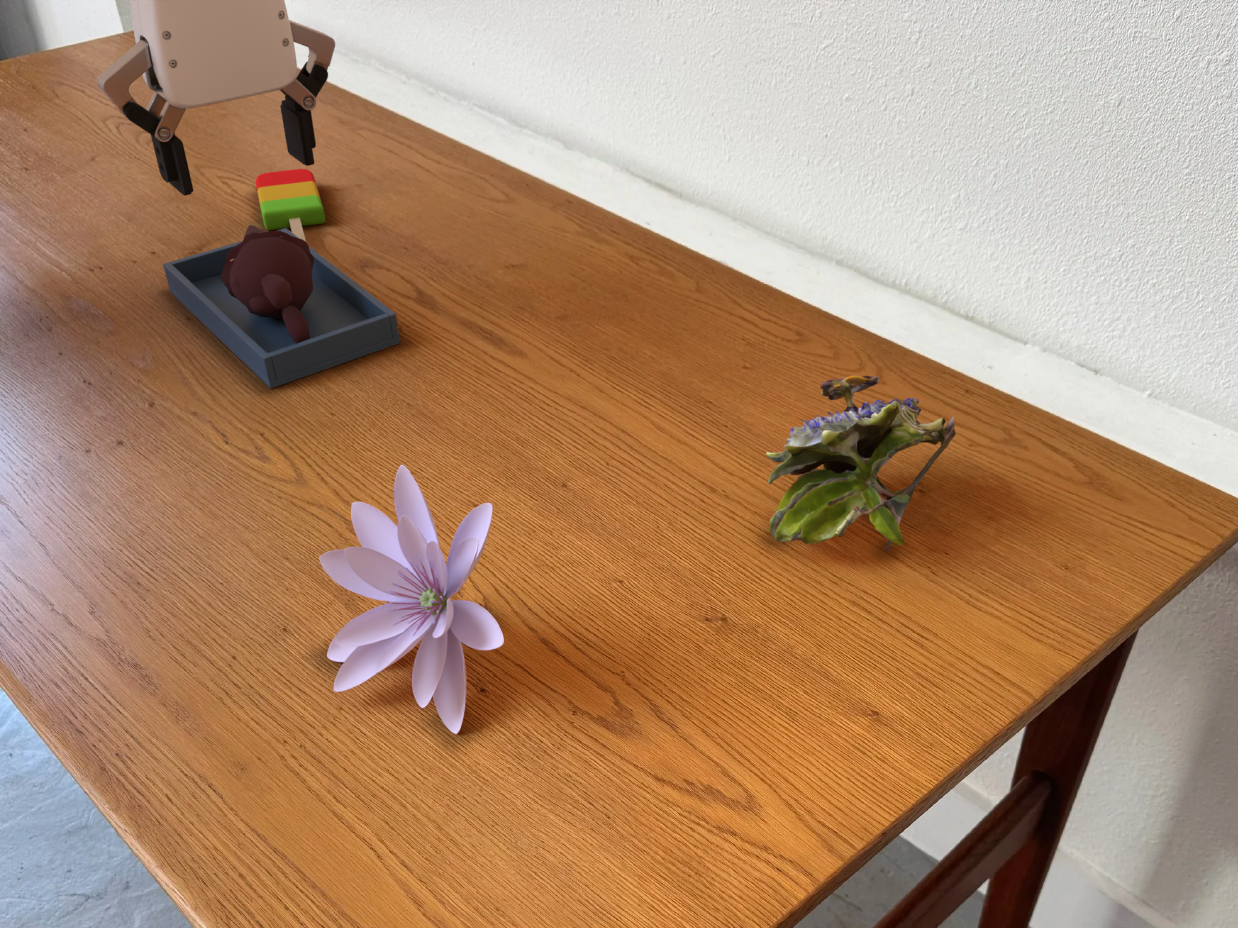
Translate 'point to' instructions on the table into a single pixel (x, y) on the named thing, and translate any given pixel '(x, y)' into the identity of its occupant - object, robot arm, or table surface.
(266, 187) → the popsicle
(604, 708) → the table surface
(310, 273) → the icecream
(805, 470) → the passion flower
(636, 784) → the table surface
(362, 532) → the water lily
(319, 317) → the tray
